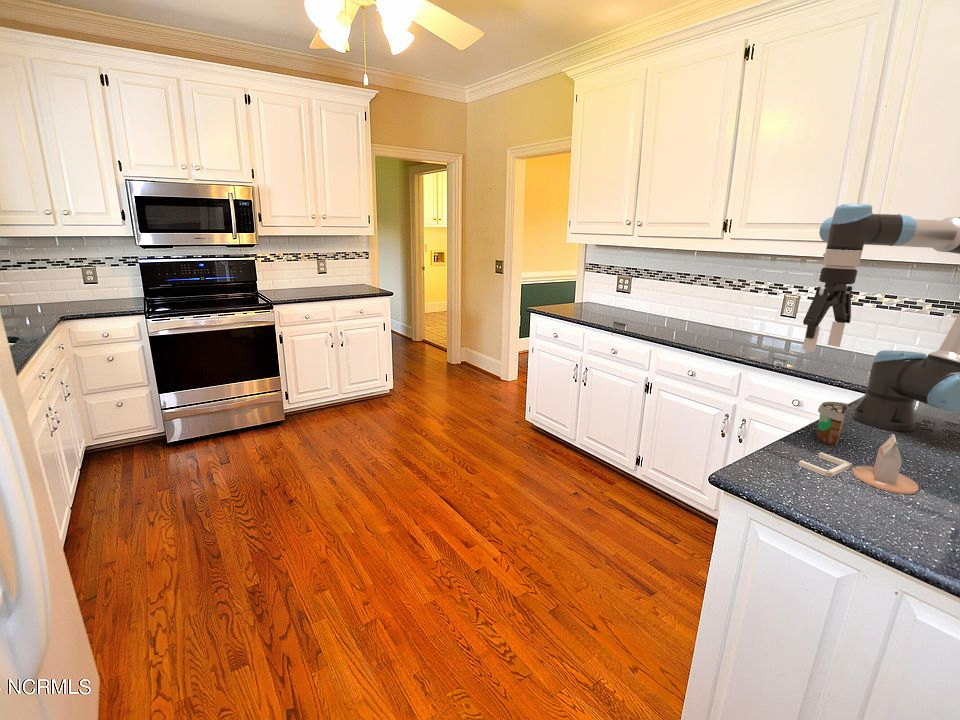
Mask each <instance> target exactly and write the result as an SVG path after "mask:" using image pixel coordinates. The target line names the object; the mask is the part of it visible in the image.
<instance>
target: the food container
mask: <svg viewBox="0 0 960 720" xmlns="http://www.w3.org/2000/svg"><path fill="white" fill-rule="evenodd" d="M848 407H849V403H845V402H840V401H839V402H838V401H823V402H822V403H821V404H820V405H819V407H818V409H817V413H819V418H818V426H817V432H816V439H817V438H818V439H819V440H820V441H819V440H818V439H817V440H818V441H819V442H821V441H822V442H821V443H823V442H824V443H823V444H825V443H826V444H825V445H828V444H829V445H828V446H831V445H832V446H831V447H834V446H835V447H836V446H837V445H838V443H839V440H840V437H841V434H842V431H843V428H844V427H843V426H844V424H845V423H844V422H845V418H846V414H847V411H848ZM837 442H838V443H837ZM835 447H834V448H835Z"/></svg>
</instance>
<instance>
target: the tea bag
mask: <svg viewBox="0 0 960 720" xmlns="http://www.w3.org/2000/svg"><path fill="white" fill-rule="evenodd" d="M902 463H903V459H902V457H901V454H900V450H899V448H898V443H897V439H896V435H895V434H893V433H891V435H890V436H889V438H888V439H887V440H886V441H885V442H884V443H883V444H881V446H879V447H878V451H877V454H876V458H875V462H874V466H873V467H874V469H873V472H874V479H875V480H876V481H880V482H884V483H887V484H891V485H895V484H896V481H897V477H898V474H900V469H901V466H902Z"/></svg>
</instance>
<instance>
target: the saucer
mask: <svg viewBox="0 0 960 720" xmlns="http://www.w3.org/2000/svg"><path fill="white" fill-rule="evenodd" d="M873 469H874V466H872V465H871V466H870V465H858V466H855V467H853V469H852V475H853V477H854V476H855V477H854V478H855V479H857V480H858V479H859V480H858V481H859V482H861V481H863V482H864V483H863V482H862V483H863V484H865V483H866V484H865V485H867V484H868V485H867V486H869V485H871V486H870V487H872V486H873V488H874V487H875V489H877V488H878V489H877V490H880V489H881V490H882V491H884V492H889V493H893V494H897V493H898V494H900V495H913V494H916V493H917V492H918V490H919V485H918V484H917V482H916V481H914V480H913V479H911V478H909V477H908V476H905V475H903V474H901V473H899V474H898V477H897V481H896V484H895V485H891V484H887V483H884V482H880V481H876V480H875V479H874V472H873ZM881 490H880V491H881ZM898 494H897V495H898Z"/></svg>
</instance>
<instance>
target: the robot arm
mask: <svg viewBox="0 0 960 720" xmlns="http://www.w3.org/2000/svg"><path fill="white" fill-rule="evenodd" d="M819 227H820V228H819V231H818V232H819V237H820V239H821V240H822V241H823V242H824V243H826V248H825V253H823V254H822V256H823V262H822V264H823V265H822V266H824V267H822V268H821V271H820V275H819V279H818V280H819V282H820V283H824V286H817V287H816V291H815V295H814V297H813V299H812V302H811V303H810V306H809V308H808V309H807V311H806V315H805V316H804V317H803V321H802V322H803V323H802V324H803V325H805V326H806V329H805V336H804V338H803V339H804V340H803V345H802V349H801V350H803V351H808V352H813V353H815V352H816V347H817V344H818V343H817V342H818V338H819V335H820V331H821V330H820V329H821V326H820V324H821V323H822V321H823V319H824V318H825V315H826V314H827V313H828V311H829V309H830V308H831V307H832V311H833V317H834V321H832V323H831V328H830V331H829V337H828V340H827V346H832V347H837V348H840V347H841V343H842V339H843V336H844V330H845V326H846V324H850V323H851V321H852V320H851V319H852V293H853V286H851V285H853V284H855V283H856V278H857V275H858V270H857V269H856V268H859V267H860V263H861V258H862V254H863V249H864V246H865V245H866V246H885V247H886V246H887V247H888V246H890V247H905V248H906V247H909V248H927V249H928V248H929V249H930V248H932V249H933V250H934V251H936V252H940V253H941V252H942V253H952V254H958V255H960V217H956V216H949V217H945V218H943V219H941V220H939V219H923V218H921V219H918V218H913V217H912V216H910V215H905V214H900V213H899V214H889V213H886V214H885V213H873V206H872V205H871V204H867V203H843V204H840V205H838V206H836V207H835V210H834V212H833V215H832V216H830V217H828V218H826V219H825V220H824V221H823V222H822V223H821V225H820V226H819ZM867 383H868V384H867V387H866V391H865V394H864V395H863V397H862V398H861V400H860V401H859V402H858V403H857V405H856V406H855V408H854V409H853V413H852V417H853V419H855V420H857V421H858V422H860V423H863V424H865V425H868V426H871V427H874V428H879V429H882V430H883V429H884V430H889V431H893V432H894V431H896V432H911V431H914V430H915V428H916V424H917V423H916V420H917V419H916V414H915V413H916V412H915V407H914V403H915V401H917V402H919V403H922V404H925V405H928V406H930V407H932V408H935V409H937V410H938V409H941V410H943V411H947V412H960V311H959V313H958V315H957V316H956V318H955V320H954V322H953V324H952V325H951V326H950V329H949V331H948V333H947V334H946V336H945V338H944V340H943V342H942V343H941V345H940V347H939V349H938V350H936V351H932V352H930V353H928V355H927V354H926V353H923V352H918V351H908V350H907V351H906V350H888V349H887V350H880V351H878V352H877V353H876V354H875V357H874V360H873V361H872V366H871V370H870V375H869V378H868V382H867Z"/></svg>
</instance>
